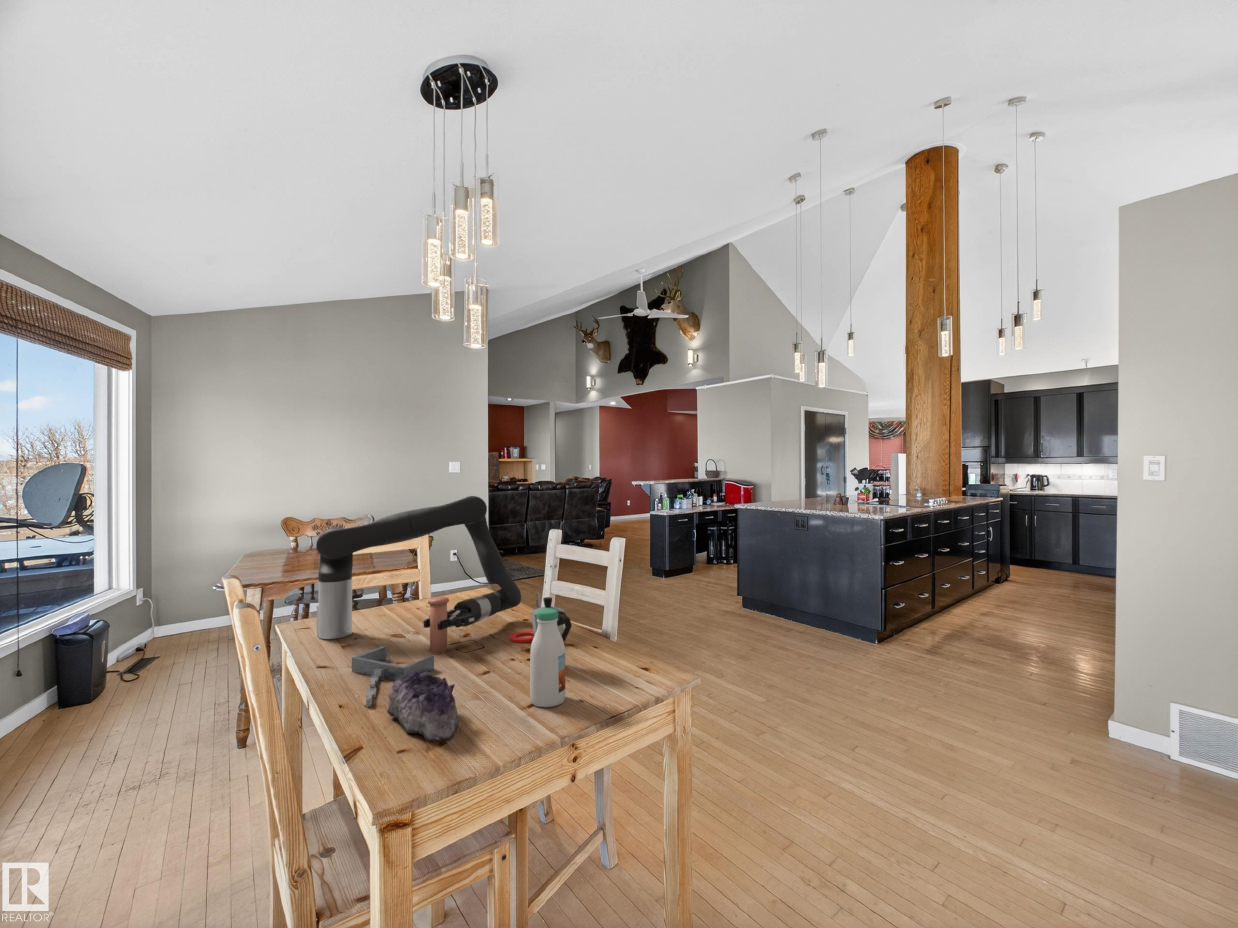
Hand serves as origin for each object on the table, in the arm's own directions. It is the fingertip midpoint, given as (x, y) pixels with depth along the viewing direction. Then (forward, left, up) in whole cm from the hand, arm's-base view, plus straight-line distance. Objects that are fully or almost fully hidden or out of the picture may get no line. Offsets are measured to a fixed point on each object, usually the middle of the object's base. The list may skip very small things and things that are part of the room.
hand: (431, 625), depth 152 cm
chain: (+6, -25, -8) cm, 27 cm away
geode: (+29, -31, -8) cm, 43 cm away
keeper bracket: (0, -13, -8) cm, 16 cm away
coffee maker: (+36, +5, -8) cm, 37 cm away
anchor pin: (0, +3, -8) cm, 8 cm away
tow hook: (+16, +23, -8) cm, 29 cm away
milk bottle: (+46, -12, -8) cm, 48 cm away
